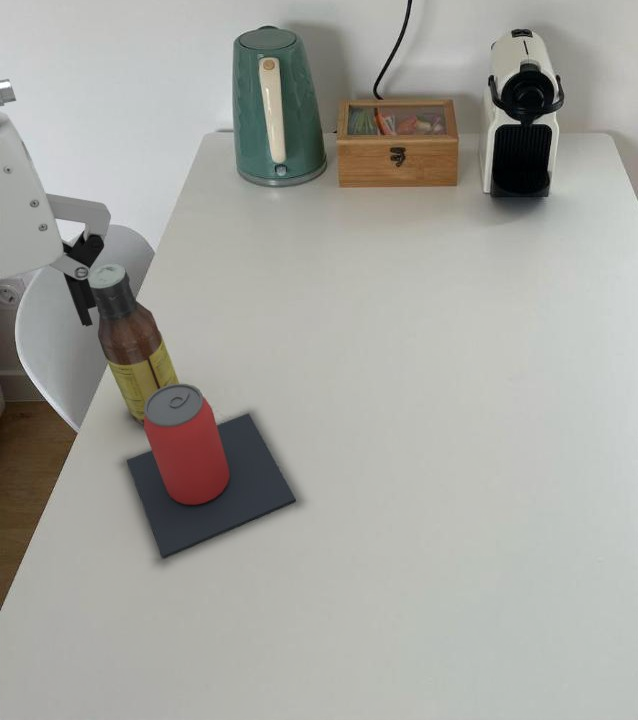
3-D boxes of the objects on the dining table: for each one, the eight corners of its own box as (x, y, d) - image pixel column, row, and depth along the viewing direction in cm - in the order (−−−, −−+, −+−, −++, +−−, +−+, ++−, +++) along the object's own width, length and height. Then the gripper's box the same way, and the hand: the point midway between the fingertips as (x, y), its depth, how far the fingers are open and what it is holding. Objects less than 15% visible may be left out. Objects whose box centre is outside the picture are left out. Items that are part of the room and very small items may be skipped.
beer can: (243, 473, 86) (222, 393, 78) (202, 517, 82) (175, 438, 74) (196, 450, 88) (171, 370, 80) (154, 492, 84) (123, 413, 76)
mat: (163, 558, 79) (162, 556, 79) (127, 462, 88) (126, 459, 88) (296, 501, 83) (295, 498, 83) (249, 415, 93) (248, 413, 92)
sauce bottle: (170, 383, 97) (126, 245, 83) (196, 411, 93) (154, 272, 80) (119, 409, 94) (65, 271, 81) (144, 440, 90) (91, 300, 77)
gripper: (60, 66, 54) (122, 276, 65) (-242, 123, 48) (-115, 344, 59) (85, 108, 49) (147, 328, 60) (-248, 178, 43) (-109, 408, 54)
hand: (17, 336), depth 60 cm, fingers open, 9 cm apart
